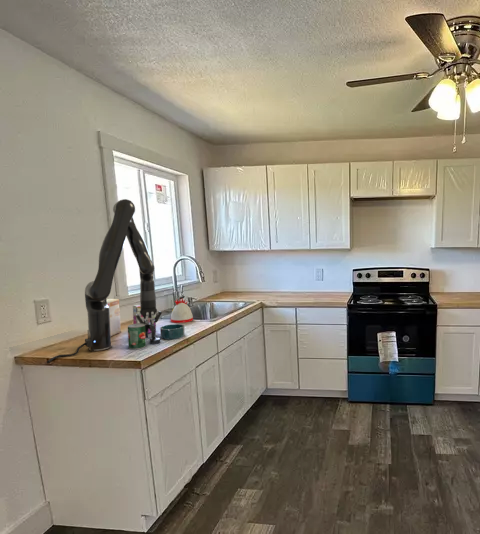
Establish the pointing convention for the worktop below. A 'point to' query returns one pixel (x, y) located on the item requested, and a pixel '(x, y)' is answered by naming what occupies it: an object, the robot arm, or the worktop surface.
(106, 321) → the robot arm
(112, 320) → the coffeecake box
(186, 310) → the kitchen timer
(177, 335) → the bowl
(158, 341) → the dark elongated piece
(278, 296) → the worktop surface
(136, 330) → the canned tomato
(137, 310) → the candy bar box
